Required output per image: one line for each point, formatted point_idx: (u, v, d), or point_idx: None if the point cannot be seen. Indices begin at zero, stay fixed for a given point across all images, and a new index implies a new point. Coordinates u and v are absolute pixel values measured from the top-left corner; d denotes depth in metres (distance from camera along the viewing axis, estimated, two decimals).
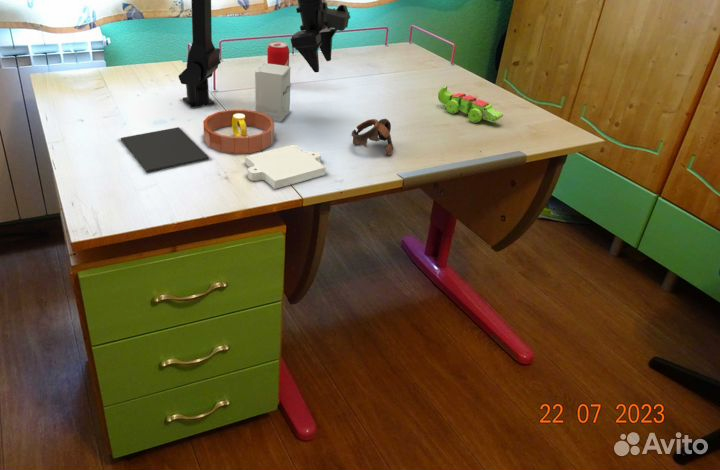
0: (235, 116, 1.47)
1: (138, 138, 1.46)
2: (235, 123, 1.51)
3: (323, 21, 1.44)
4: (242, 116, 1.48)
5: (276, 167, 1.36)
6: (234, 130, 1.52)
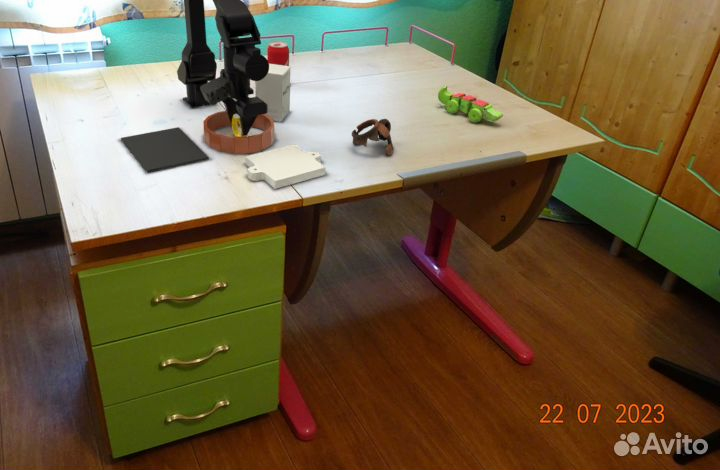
0: (235, 116, 1.47)
1: (138, 138, 1.46)
2: (235, 123, 1.51)
3: None
4: None
5: (276, 167, 1.36)
6: (234, 130, 1.52)
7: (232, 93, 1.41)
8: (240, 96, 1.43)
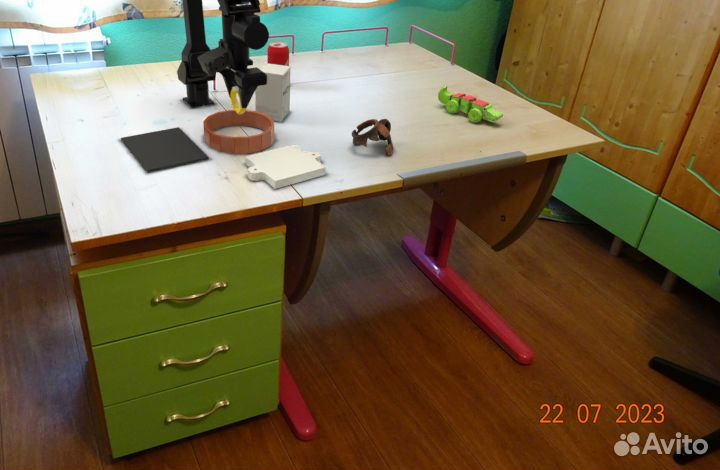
0: (234, 88, 1.44)
1: (138, 138, 1.46)
2: (234, 96, 1.48)
3: None
4: None
5: (276, 167, 1.36)
6: (233, 104, 1.48)
7: (231, 63, 1.37)
8: (239, 67, 1.39)
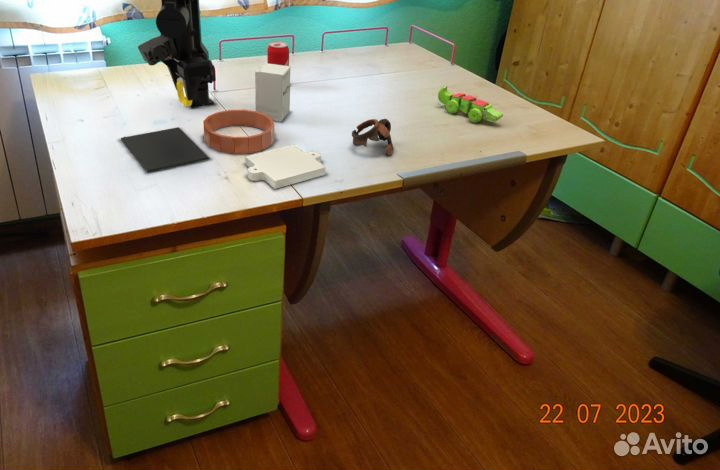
0: (179, 80, 1.36)
1: (138, 138, 1.46)
2: (180, 88, 1.40)
3: None
4: None
5: (276, 167, 1.36)
6: (179, 96, 1.41)
7: (173, 53, 1.30)
8: (182, 56, 1.31)
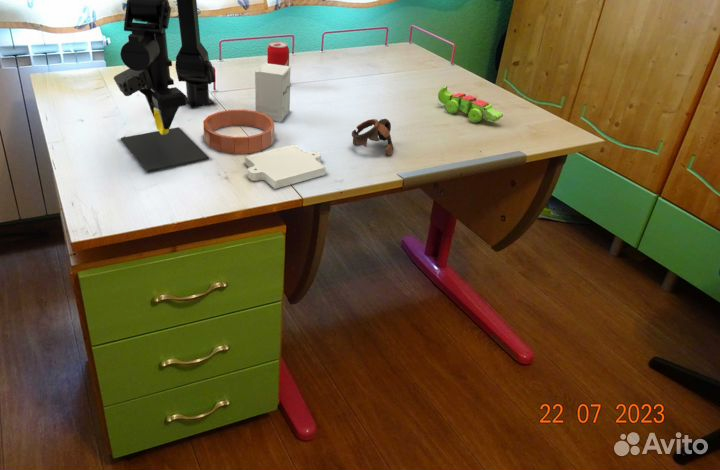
0: (156, 108, 1.37)
1: (138, 138, 1.46)
2: (158, 116, 1.41)
3: None
4: None
5: (276, 167, 1.36)
6: (157, 124, 1.42)
7: (148, 83, 1.31)
8: (158, 87, 1.32)
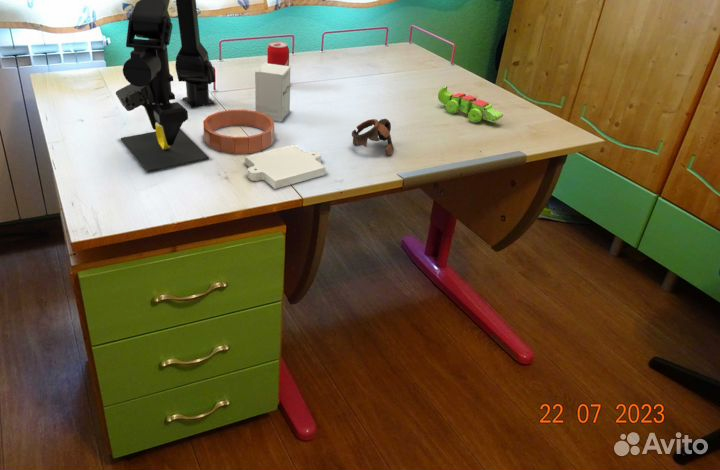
0: (157, 124, 1.39)
1: (138, 138, 1.46)
2: (160, 131, 1.43)
3: None
4: None
5: (276, 167, 1.36)
6: (159, 138, 1.44)
7: (150, 98, 1.32)
8: (159, 101, 1.34)
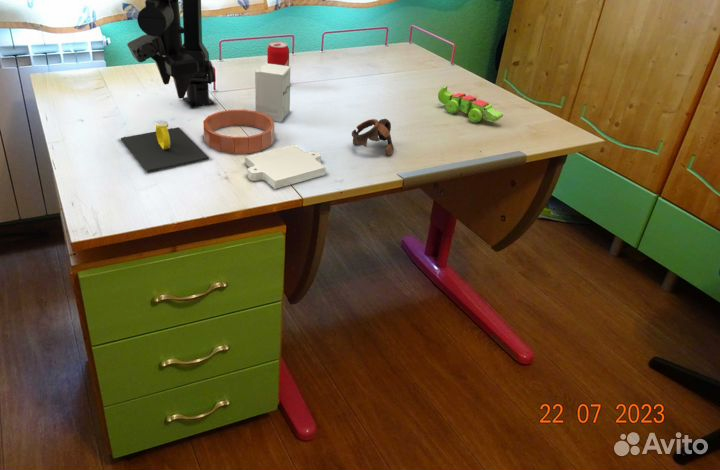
0: (157, 124, 1.39)
1: (138, 138, 1.46)
2: (160, 131, 1.43)
3: None
4: (165, 124, 1.40)
5: (276, 167, 1.36)
6: (159, 138, 1.44)
7: (161, 50, 1.33)
8: (171, 54, 1.35)
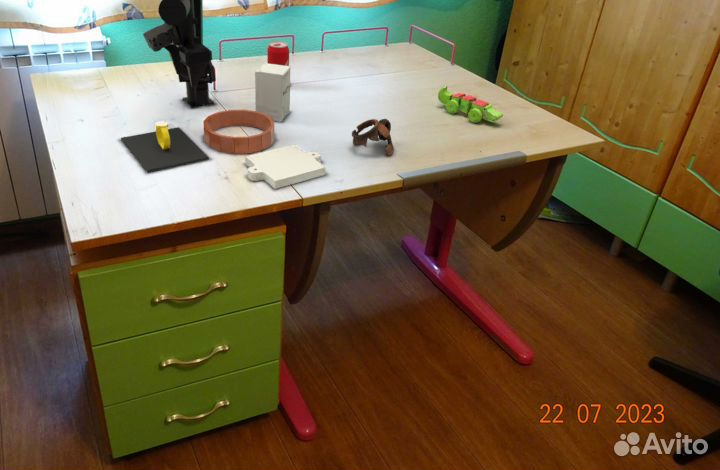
0: (157, 124, 1.39)
1: (138, 138, 1.46)
2: (160, 131, 1.43)
3: None
4: (165, 124, 1.40)
5: (276, 167, 1.36)
6: (159, 138, 1.44)
7: (176, 40, 1.39)
8: (184, 43, 1.40)
